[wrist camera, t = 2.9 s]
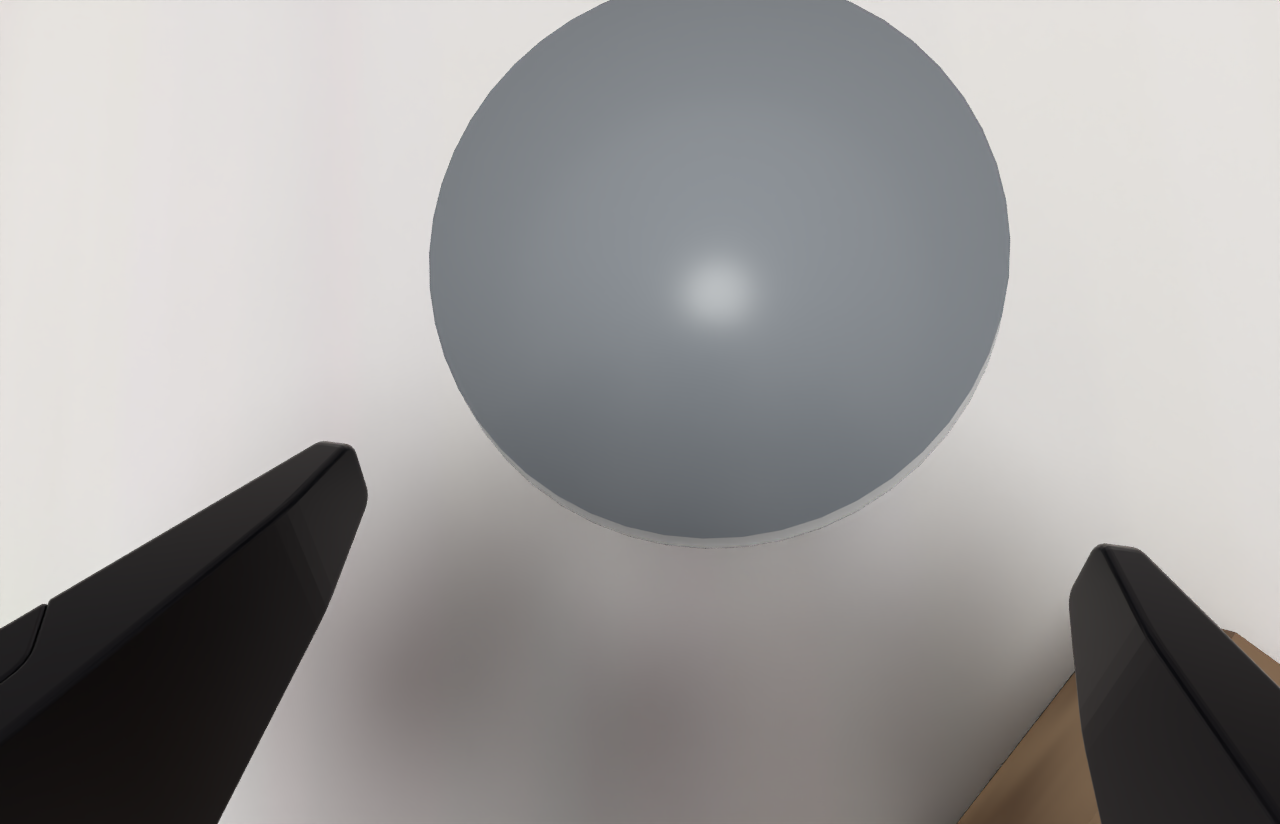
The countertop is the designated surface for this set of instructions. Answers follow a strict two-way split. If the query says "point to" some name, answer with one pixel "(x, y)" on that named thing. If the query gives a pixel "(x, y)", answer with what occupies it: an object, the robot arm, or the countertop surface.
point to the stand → (1058, 765)
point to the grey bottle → (720, 265)
